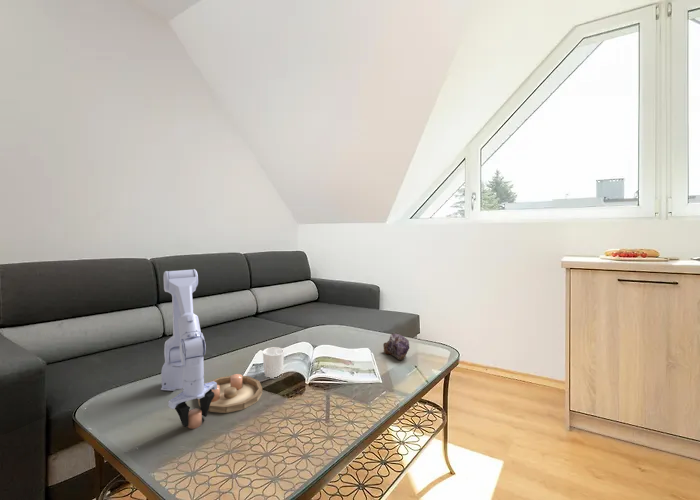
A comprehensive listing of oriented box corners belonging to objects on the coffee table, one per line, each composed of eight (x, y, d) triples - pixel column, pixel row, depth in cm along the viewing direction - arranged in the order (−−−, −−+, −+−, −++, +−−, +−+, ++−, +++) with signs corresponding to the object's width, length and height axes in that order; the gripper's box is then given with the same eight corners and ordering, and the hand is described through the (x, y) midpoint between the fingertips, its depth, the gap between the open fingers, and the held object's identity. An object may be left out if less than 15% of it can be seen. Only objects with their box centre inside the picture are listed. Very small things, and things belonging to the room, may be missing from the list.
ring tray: (186, 412, 118) (185, 403, 118) (214, 380, 139) (214, 373, 138) (249, 417, 117) (249, 408, 117) (268, 384, 137) (268, 377, 137)
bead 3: (228, 389, 131) (228, 378, 131) (233, 384, 135) (233, 373, 135) (240, 390, 131) (239, 379, 130) (244, 384, 135) (244, 374, 134)
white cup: (279, 382, 139) (279, 356, 138) (259, 379, 141) (259, 354, 139) (286, 372, 147) (287, 348, 145) (267, 370, 148) (268, 346, 147)
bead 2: (212, 403, 123) (211, 391, 122) (204, 399, 125) (204, 387, 124) (222, 397, 126) (222, 386, 125) (214, 394, 128) (214, 383, 127)
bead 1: (184, 428, 110) (184, 415, 110) (191, 420, 114) (191, 408, 114) (198, 429, 110) (197, 416, 110) (204, 421, 114) (204, 409, 114)
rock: (395, 364, 160) (413, 359, 165) (397, 346, 158) (416, 342, 162) (380, 350, 170) (398, 346, 175) (382, 333, 167) (400, 329, 172)
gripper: (177, 391, 102) (179, 437, 104) (223, 372, 114) (223, 413, 116) (163, 383, 106) (165, 428, 108) (208, 365, 118) (209, 406, 120)
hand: (194, 420), depth 112 cm, fingers open, 6 cm apart
